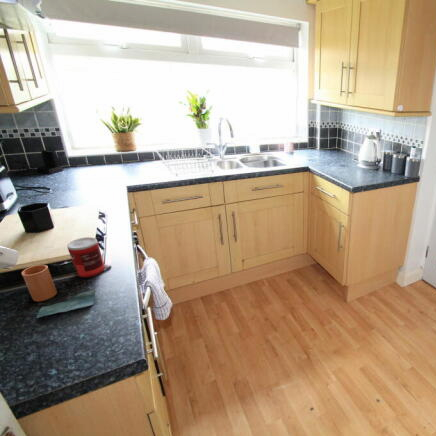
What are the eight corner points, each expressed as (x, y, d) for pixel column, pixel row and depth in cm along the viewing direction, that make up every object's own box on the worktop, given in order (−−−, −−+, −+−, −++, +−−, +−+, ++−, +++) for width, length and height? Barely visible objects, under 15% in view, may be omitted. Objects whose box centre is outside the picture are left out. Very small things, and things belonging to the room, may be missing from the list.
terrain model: (36, 324, 84) (34, 318, 83) (42, 308, 90) (40, 302, 89) (95, 308, 90) (94, 302, 89) (96, 294, 96) (95, 289, 95)
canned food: (85, 265, 110) (76, 237, 105) (110, 264, 110) (101, 236, 106) (71, 278, 103) (60, 248, 98) (97, 277, 103) (88, 248, 99)
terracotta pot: (27, 302, 92) (16, 276, 88) (40, 290, 97) (30, 265, 93) (49, 300, 92) (39, 274, 89) (61, 289, 98) (51, 264, 94)
